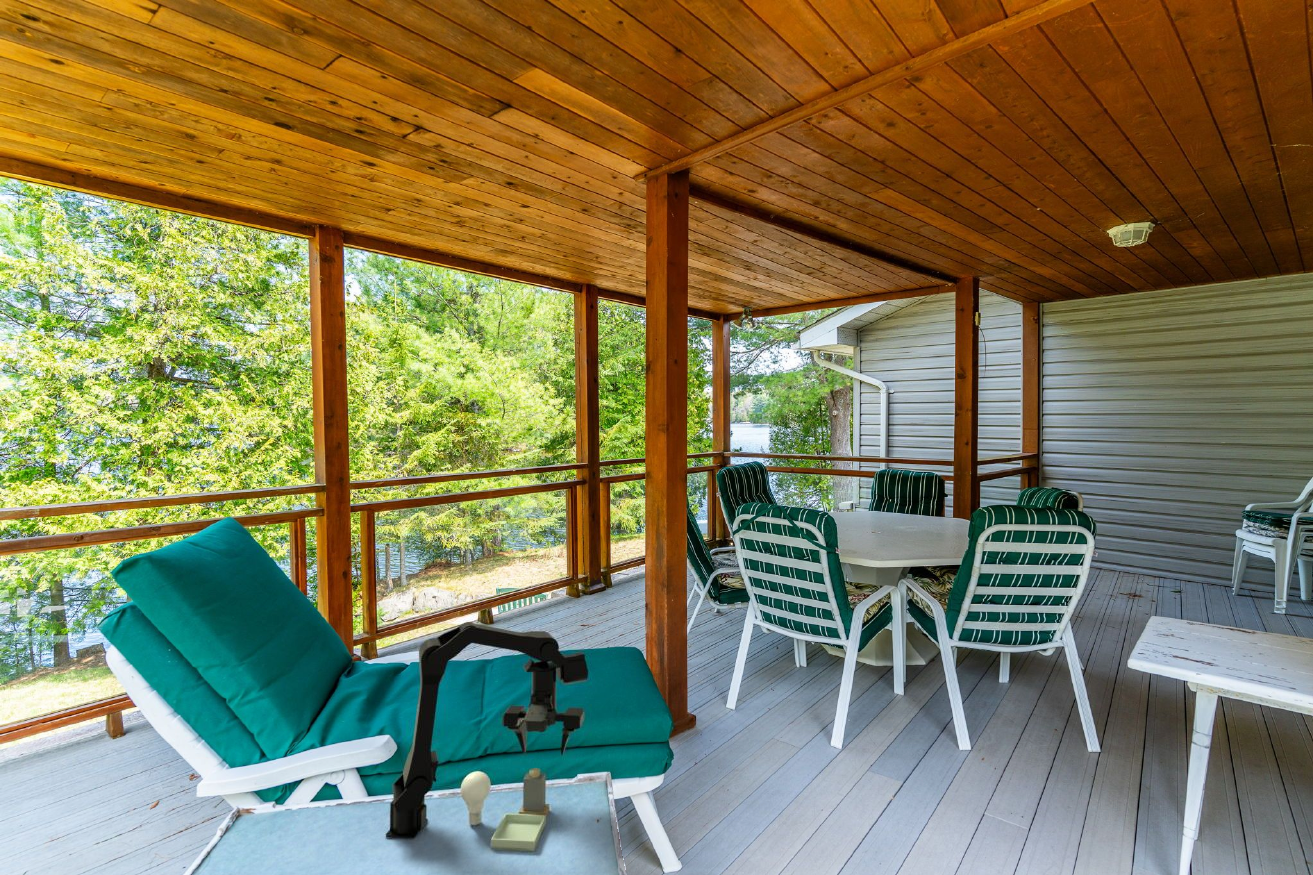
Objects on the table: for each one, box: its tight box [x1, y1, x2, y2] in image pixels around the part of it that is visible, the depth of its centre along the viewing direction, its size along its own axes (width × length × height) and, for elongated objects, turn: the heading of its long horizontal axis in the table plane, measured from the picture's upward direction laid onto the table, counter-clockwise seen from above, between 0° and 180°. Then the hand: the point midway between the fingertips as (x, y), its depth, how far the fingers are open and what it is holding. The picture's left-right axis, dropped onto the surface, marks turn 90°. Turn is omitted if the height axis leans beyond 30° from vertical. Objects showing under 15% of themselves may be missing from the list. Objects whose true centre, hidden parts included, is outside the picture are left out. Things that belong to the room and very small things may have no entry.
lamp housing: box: [518, 767, 550, 818], centre depth 136 cm, size 6×4×10 cm, turn 86°
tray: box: [490, 813, 547, 852], centre depth 127 cm, size 9×9×2 cm
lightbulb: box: [460, 770, 492, 826], centre depth 132 cm, size 6×6×11 cm
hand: (543, 753), depth 143 cm, fingers open, 9 cm apart
